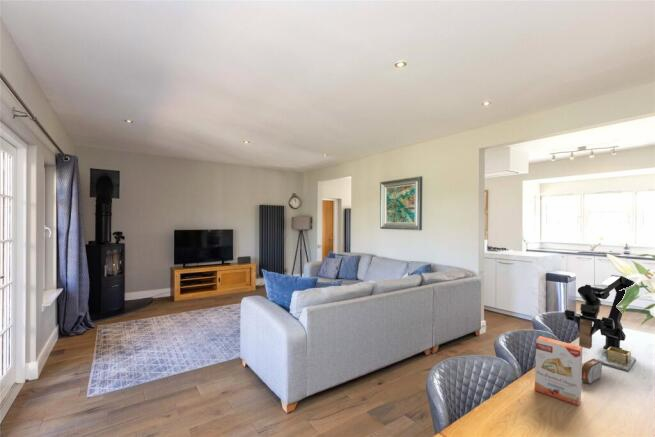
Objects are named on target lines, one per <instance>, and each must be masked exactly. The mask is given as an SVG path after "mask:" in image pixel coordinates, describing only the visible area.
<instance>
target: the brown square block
mask: <svg viewBox="0 0 655 437" xmlns="http://www.w3.org/2000/svg"><path fill="white" fill-rule="evenodd" d="M592 327H593V322H591V321H587V320H581V321H580V332H579V331H578V333H579V336H578V338H579V339H578V341H579V342H578V346H581V347H582V348H584V349H588V350H590V349H591V348H592V346H593V335H592V336H590V332H591V329H592Z"/></svg>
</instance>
